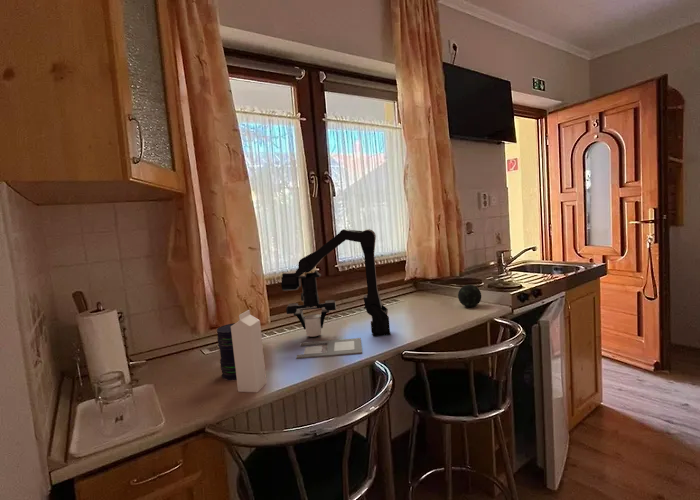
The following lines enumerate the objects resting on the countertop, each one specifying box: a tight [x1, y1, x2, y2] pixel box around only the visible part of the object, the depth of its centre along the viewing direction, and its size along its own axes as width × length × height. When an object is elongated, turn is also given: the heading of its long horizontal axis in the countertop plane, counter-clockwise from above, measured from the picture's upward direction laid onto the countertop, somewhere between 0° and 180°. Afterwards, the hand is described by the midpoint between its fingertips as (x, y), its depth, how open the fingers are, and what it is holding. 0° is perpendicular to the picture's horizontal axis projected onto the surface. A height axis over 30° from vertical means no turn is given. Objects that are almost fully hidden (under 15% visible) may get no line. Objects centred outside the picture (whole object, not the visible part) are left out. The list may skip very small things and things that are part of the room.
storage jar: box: [216, 322, 237, 382], centre depth 128 cm, size 10×10×15 cm
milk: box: [231, 309, 267, 393], centre depth 117 cm, size 6×6×22 cm
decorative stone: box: [457, 284, 482, 308], centre depth 185 cm, size 10×10×10 cm
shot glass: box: [304, 313, 322, 337], centre depth 160 cm, size 7×7×7 cm
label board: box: [296, 337, 363, 360], centre depth 145 cm, size 22×15×1 cm
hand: (313, 328), depth 160 cm, fingers closed on shot glass, 6 cm apart
